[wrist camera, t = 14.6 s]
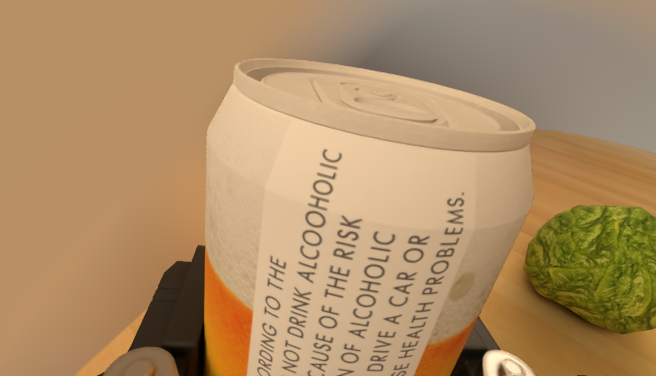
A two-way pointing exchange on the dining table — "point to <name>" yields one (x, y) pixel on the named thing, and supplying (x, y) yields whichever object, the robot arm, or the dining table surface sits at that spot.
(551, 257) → the lettuce
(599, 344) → the dining table surface
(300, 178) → the beer can
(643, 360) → the dining table surface
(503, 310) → the dining table surface
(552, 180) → the dining table surface
